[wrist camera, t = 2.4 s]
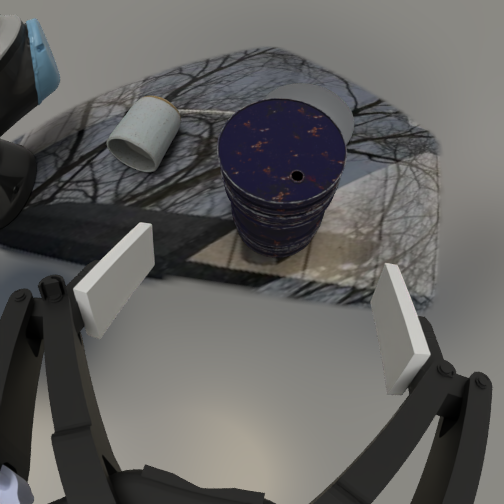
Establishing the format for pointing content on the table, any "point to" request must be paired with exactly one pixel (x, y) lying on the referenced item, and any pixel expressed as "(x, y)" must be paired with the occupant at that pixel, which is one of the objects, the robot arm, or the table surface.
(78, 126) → the table surface
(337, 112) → the grey flat round disc
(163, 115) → the ceramic mug
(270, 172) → the navy cylinder
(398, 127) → the table surface
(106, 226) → the table surface
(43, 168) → the table surface
